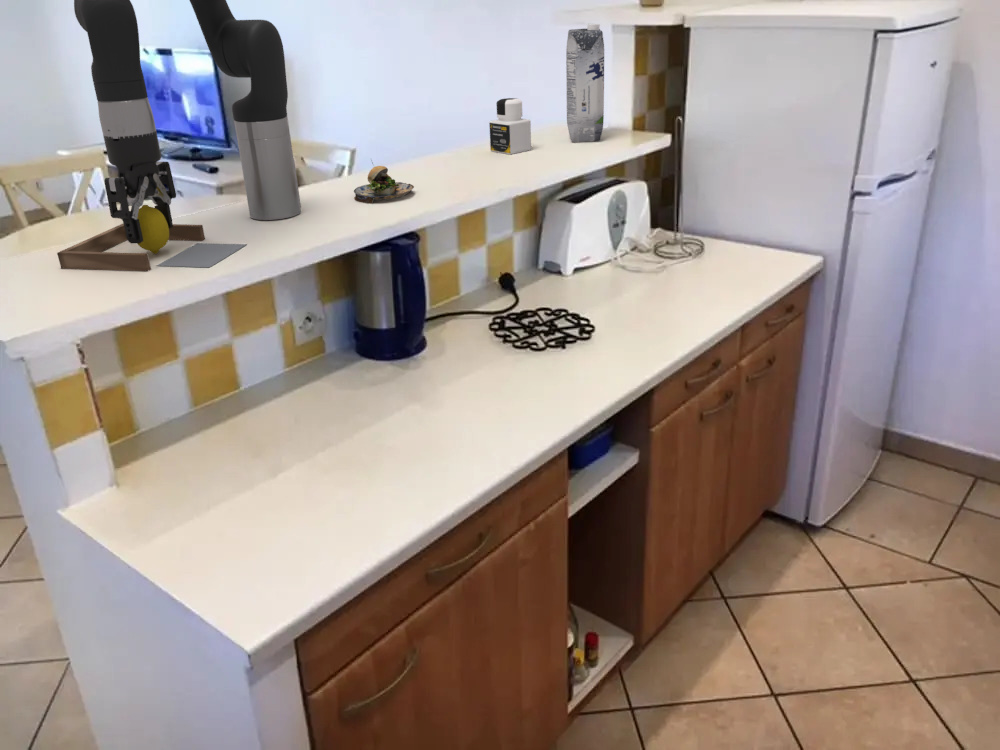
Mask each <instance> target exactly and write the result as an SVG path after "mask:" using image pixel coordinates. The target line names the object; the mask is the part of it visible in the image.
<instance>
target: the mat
mask: <svg viewBox="0 0 1000 750" xmlns="http://www.w3.org/2000/svg"><path fill="white" fill-rule="evenodd" d="M246 246H247V244H246V243H216V242H215V243H212V242H211V243H210V242H208V243H207V242H206V243H205V242H196V243H195V244H193V245H192V246H191V245H190V247H188V248H186V249H184V250H182V251H180V252H178V253H177V254H175V255H173V256H172V257H169V258H168V259H166V260H164V261H162V262H160V263H158V264H157V265H155V266H156V267H169V266H170V268H171V267H174V268H175V267H176V268H200V269H201V268H206V269H210V268H212V267H213V266H215V265H217V264H218V263H219V262H221V261H223V260H224V259H226V258H229V256H231V255H232V254H234V253H236V252H238V251H239V250H241V249H242V248H244V247H246Z"/></svg>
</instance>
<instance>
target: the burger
mask: <svg viewBox="0 0 1000 750" xmlns="http://www.w3.org/2000/svg"><path fill="white" fill-rule="evenodd" d="M370 160H371V161H370V162H371V163H372V165H373V167H372V168H371V169H370V170H369V172H368V175H367V182H368V183H369V184H364V185H361V186H357V187H356V188H355V189H354V190H353V193H354V194H355V195H354V198H353V199H354V201H355V202H358V203H363V204H371V205H372V204H373V203H374V200H390V199H396V198H400V197H402V196H406V195H407V194H409V192H411V191H412V190H413V189H414V188H415V186H414V185H413V184H411V183H407V182H401V181H398V182H396V180H395V179H394V178H392V177H391V176H390V175H389V174H388V171H389V169H388V168H387V167H386V166H384V165H377V166H375V165H374V162H373V160H372V159H370Z"/></svg>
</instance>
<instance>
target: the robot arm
mask: <svg viewBox="0 0 1000 750" xmlns="http://www.w3.org/2000/svg"><path fill="white" fill-rule="evenodd" d="M189 2H190V4H191V7H192V9H193V12H194V14H195V17H196V20H197V22H198V25H199V28H200V30H201V33H202V36H203V38H204V41H205V43H206V46H207V47H208V50H209V52H210V55H211V57H212V59H213V61H214V63H215V65H216V66H217V67H218V69H219V70H220V71H221V72H222V73H223V74H224V75H226V76H228V77H231V78H238V79H239V78H240V79H241V78H248V79H249V78H250V90H249V92H248V94H246V96H244V97H242V98H240V99H238V100H236V101H235V102H233V104H232V105H231V111H232V118H233V122H234V123H233V124H234V128H235V135H236V139H237V147H238V152H239V157H240V164H241V169H242V176H243V182H244V187H245V193H246V200H247V205H248V211H249V217H250V218H252V219H254V220H261V221H272V220H281V219H282V220H283V219H287V218H291V217H295V216H298V215H299V214H300V213H301V212H302V204H301V197H300V190H299V183H298V178H297V177H298V176H297V169H296V163H295V162H296V161H295V158H294V152H293V151H294V150H293V145H292V144H293V143H292V139H291V138H292V137H291V133H290V125H289V119H288V112H287V111H288V110H287V105H288V98H289V96H288V95H289V93H288V82H287V72H286V59H285V51H284V50H285V49H284V46H283V41H282V38H281V35H280V32H279V31H278V29H277V27H276V26H275V25H274V24H273V23H272V22H270V21H269V20H267V19H236V18H235V17H234V15H233V12H232V11H231V9H230V6H229V4H228V1H227V0H189ZM73 7H74V8H73V10H74V16H75V18H76V20H77V22H78V24H79V25H80V27H81V28H82V29H83V30H84V31H85V32H86V33H87V37H88V41H89V47H90V51H91V56H92V62H91V66H90V68H91V69H90V70H91V77H92V83H93V86H94V91H95V98H96V100H97V105H98V106H97V107H98V115H99V116H98V117H99V122H100V128H101V131H102V136H103V141H104V144H105V149H106V150H105V151H106V153H107V158H108V162H109V163H110V165H112V166H115V167H116V168H117V177H116V176H115V177H105V178H104V187H105V191H106V192H105V193H106V198H107V202H108V208H109V213H110V216H111V218H112V219H120V220H121V221H122V224H123V223H124V228H125V231H126V237H127V239H128V240H127V242H128V243H130V244H137V245H138V244H139V243H141V242H143V236H142V231H141V227H140V222H139V219H137V217H138V212H139V209H140V208H141V207H142V206H143V205H144V200H147V198H149V199H150V200H151V201H152V203H153V204H154V205H155V206H154V207H153V208H155V209H157V210H159V211H160V212H161V213H162V214H163V215H164V217H165V219H166V221H167V224H168V227H169V229H170V228H172V227H173V224H174V223H173V219H172V213H171V207H170V205H171V204H172V199H176V197H177V192H176V188H175V182H174V179H173V174H172V170H171V165H170V163H169V161H160V160H161V159H162V153H161V148H160V142H159V138H158V134H157V127H156V122H155V118H154V117H155V116H154V113H153V109H152V106H151V104H150V100H149V98H148V92H147V87H146V82H145V77H144V72H143V69H142V65H141V49H140V46H141V45H140V35H139V34H140V33H139V26H138V20H137V15H136V10H135V8H134V5H133V3H132V1H131V0H73ZM165 185H166V186H167V188H166V186H165ZM117 203H119V205H120V206H119V209H118V205H117ZM130 208H131V209H130Z"/></svg>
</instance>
